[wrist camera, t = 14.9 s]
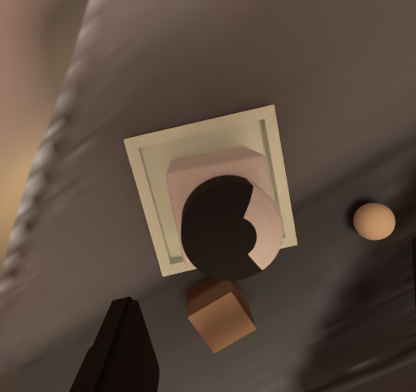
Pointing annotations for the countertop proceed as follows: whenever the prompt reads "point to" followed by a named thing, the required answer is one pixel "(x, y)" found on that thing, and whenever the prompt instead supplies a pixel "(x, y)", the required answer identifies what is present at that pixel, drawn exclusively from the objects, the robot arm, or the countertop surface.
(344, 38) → the countertop surface
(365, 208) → the cork ball
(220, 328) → the walnut block
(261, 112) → the tray
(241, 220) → the medicine bottle
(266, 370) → the countertop surface
